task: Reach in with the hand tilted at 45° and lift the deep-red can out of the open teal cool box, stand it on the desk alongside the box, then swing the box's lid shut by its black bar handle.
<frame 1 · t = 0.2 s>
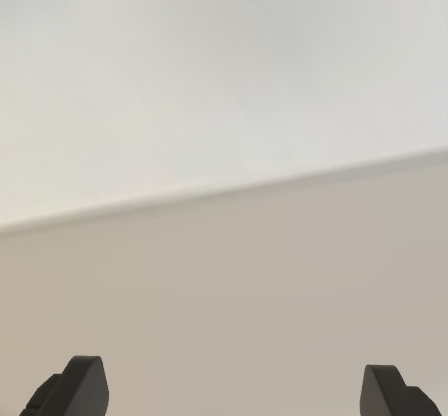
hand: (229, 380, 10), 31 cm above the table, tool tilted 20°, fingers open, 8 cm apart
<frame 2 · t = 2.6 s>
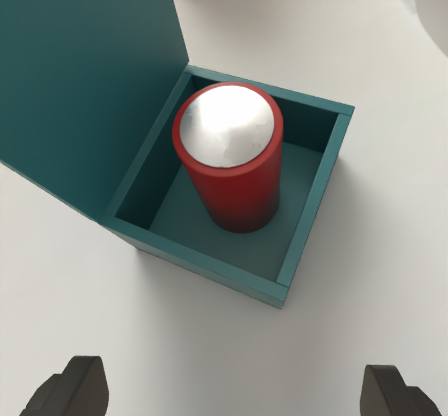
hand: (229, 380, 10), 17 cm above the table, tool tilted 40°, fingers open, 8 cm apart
cool box: (237, 200, 30), on the table
can: (242, 198, 29), point 1 cm above the table, touching cool box
cool box lid: (65, 51, 19), point 15 cm above the table, hinge at 88.0°
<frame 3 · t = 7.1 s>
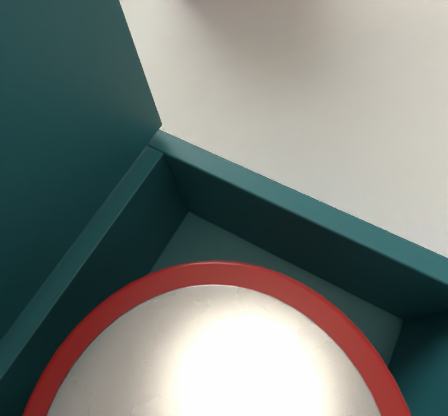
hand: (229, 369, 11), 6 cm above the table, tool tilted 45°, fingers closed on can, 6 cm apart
cool box: (226, 383, 16), on the table
can: (236, 392, 15), point 1 cm above the table, touching cool box, gripper
when the fingers open (5 cm above the table, at t = 15.5 s): can stays where it is, on the table.
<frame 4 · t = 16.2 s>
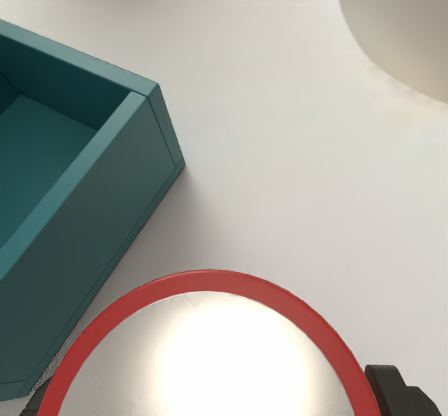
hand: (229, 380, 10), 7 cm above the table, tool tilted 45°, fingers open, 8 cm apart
cool box: (27, 212, 20), on the table
can: (232, 389, 16), on the table
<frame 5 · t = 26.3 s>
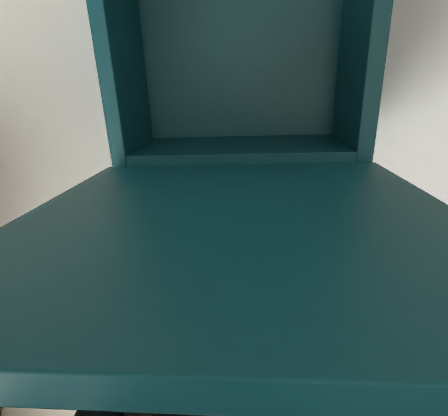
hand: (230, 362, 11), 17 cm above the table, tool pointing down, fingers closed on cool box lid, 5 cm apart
cool box: (239, 46, 23), on the table
cool box lid: (233, 276, 13), point 15 cm above the table, hinge at 88.0°, touching gripper
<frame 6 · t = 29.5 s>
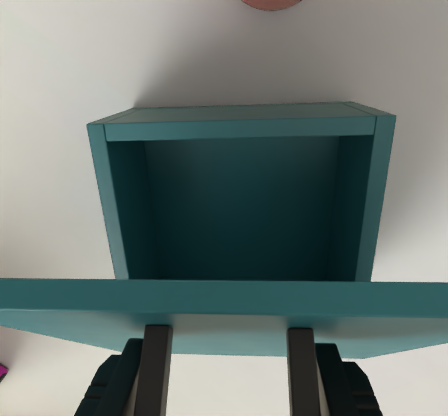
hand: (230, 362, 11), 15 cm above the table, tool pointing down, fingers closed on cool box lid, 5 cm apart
cool box: (241, 201, 25), on the table
cool box lid: (234, 395, 13), point 14 cm above the table, hinge at 40.3°, touching gripper
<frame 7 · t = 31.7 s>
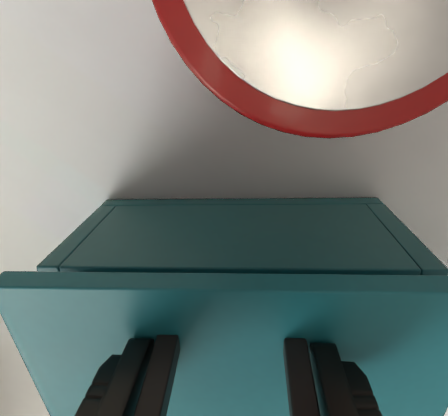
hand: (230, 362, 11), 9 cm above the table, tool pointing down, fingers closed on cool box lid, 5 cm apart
cool box: (240, 300, 21), on the table
can: (282, 17, 15), on the table
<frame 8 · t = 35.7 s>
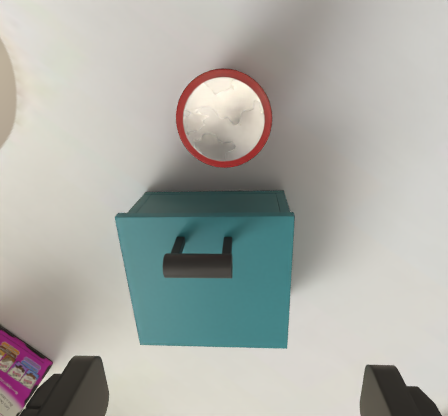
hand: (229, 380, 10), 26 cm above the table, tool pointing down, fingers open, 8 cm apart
cool box: (216, 248, 38), on the table
can: (231, 106, 32), on the table
cool box lid: (205, 302, 29), point 10 cm above the table, hinge at 3.9°
candy bar box: (13, 347, 46), on the table
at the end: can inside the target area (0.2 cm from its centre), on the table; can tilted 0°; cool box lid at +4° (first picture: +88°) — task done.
